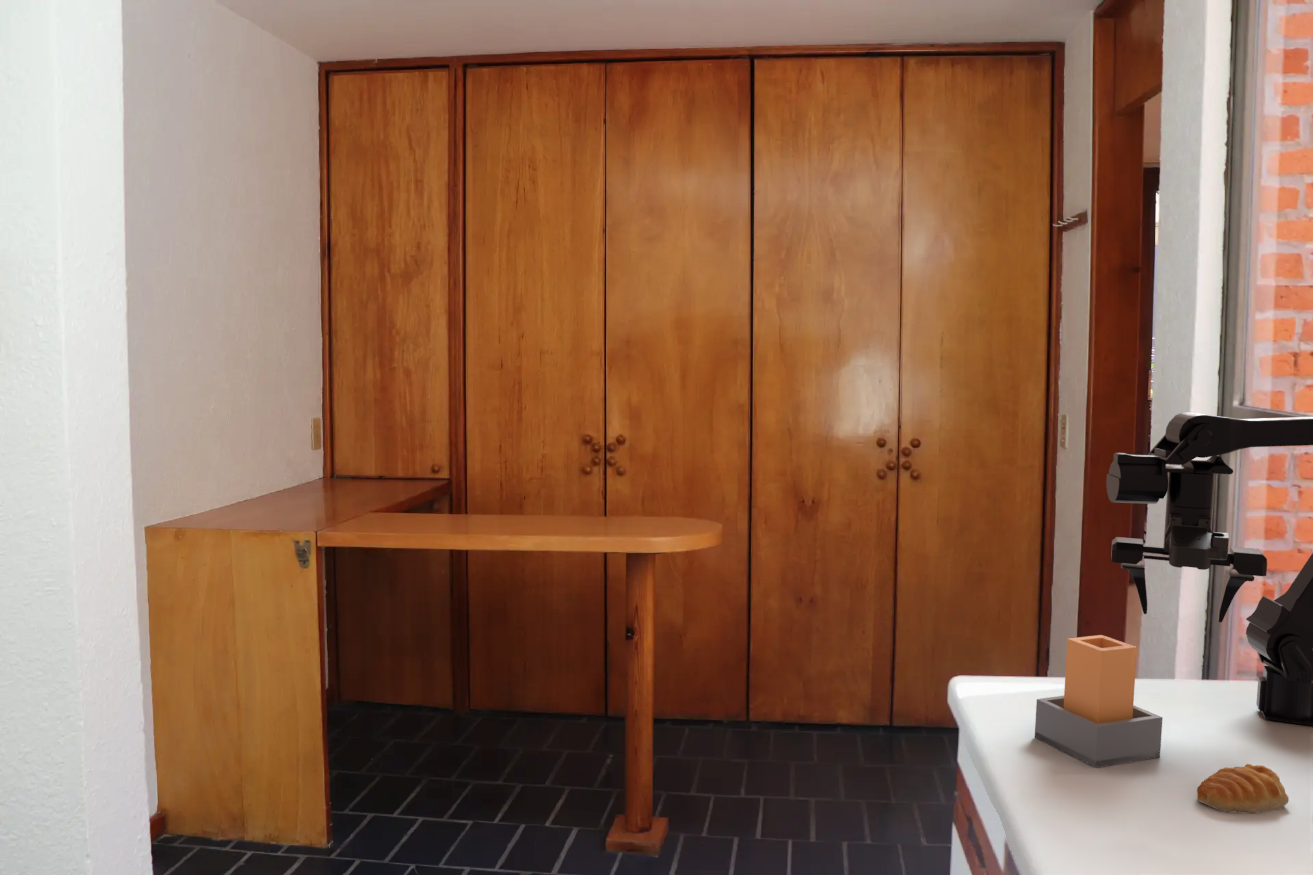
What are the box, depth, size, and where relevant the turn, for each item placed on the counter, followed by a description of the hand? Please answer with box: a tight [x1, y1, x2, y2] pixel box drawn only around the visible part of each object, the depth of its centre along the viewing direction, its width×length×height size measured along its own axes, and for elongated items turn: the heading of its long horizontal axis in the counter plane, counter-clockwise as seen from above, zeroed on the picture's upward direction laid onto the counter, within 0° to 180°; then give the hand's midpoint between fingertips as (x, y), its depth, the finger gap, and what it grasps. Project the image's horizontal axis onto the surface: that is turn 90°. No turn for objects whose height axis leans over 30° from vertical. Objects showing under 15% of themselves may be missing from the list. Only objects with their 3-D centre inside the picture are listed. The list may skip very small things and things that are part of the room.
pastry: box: [1196, 763, 1289, 814], centre depth 115 cm, size 9×7×4 cm
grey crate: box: [1034, 695, 1163, 769], centre depth 130 cm, size 10×10×5 cm
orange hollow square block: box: [1063, 634, 1138, 724], centre depth 129 cm, size 6×6×12 cm
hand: (1181, 617), depth 143 cm, fingers open, 9 cm apart
